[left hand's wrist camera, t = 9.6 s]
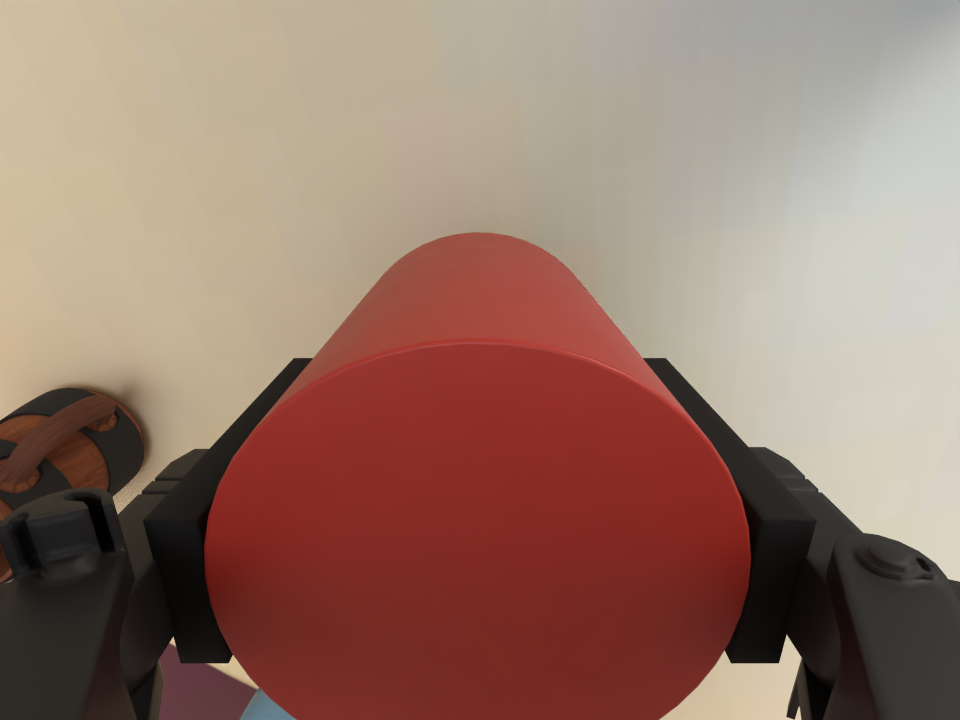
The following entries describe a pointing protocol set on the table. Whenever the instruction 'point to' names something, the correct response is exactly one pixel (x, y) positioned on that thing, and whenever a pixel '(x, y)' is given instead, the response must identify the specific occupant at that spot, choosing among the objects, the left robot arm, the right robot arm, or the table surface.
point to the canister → (477, 511)
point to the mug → (65, 449)
